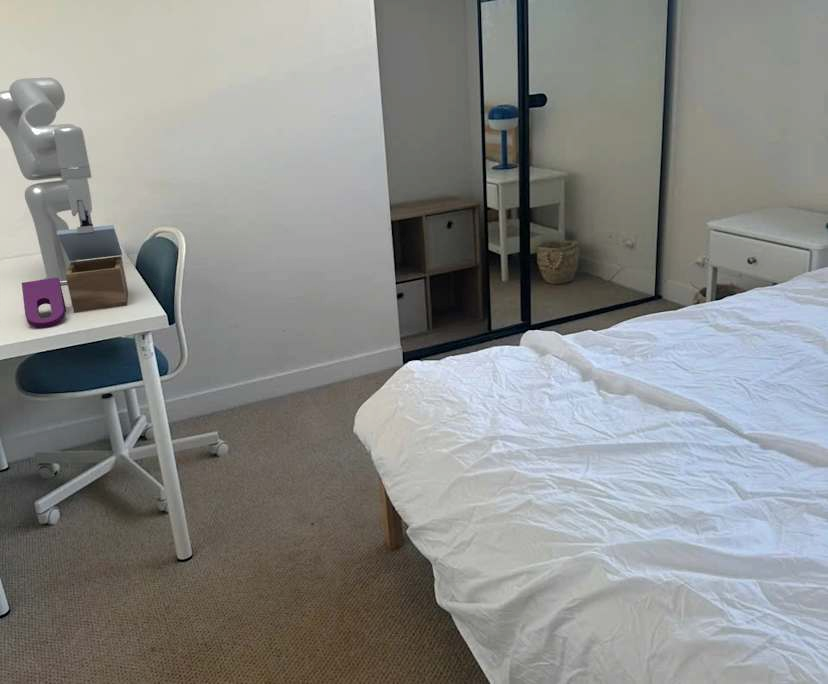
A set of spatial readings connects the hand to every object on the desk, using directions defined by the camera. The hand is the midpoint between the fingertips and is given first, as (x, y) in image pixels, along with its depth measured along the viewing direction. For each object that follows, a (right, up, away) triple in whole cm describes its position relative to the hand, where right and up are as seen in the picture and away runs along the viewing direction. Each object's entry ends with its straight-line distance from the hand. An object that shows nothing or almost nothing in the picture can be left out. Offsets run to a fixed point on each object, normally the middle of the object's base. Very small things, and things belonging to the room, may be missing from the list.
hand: (89, 238), depth 211 cm
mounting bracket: (-8, -24, -8) cm, 26 cm away
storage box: (+2, -18, +5) cm, 19 cm away
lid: (+1, -3, 0) cm, 3 cm away
